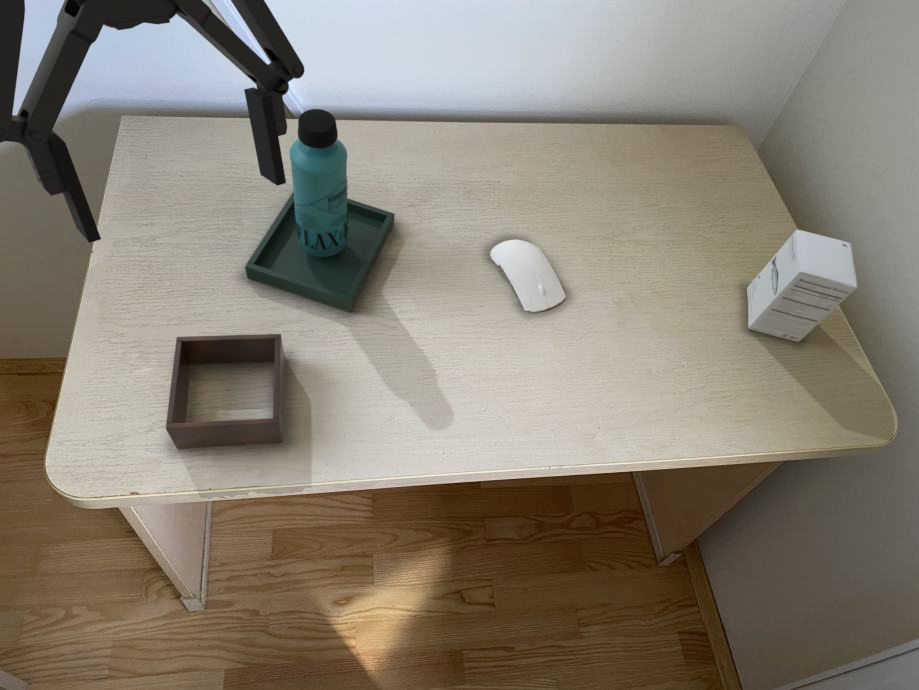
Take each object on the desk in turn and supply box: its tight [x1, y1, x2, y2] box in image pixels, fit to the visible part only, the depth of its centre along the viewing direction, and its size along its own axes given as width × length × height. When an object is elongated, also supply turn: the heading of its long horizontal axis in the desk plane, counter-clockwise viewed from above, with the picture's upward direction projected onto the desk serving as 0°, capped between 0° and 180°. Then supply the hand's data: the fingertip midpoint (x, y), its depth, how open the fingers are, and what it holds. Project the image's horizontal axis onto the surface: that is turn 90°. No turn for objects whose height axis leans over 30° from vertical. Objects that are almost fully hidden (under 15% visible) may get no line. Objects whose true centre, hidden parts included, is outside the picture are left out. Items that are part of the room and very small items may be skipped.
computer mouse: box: [489, 239, 567, 313], centre depth 87 cm, size 7×12×2 cm, turn 28°
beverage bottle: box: [288, 108, 349, 257], centre depth 77 cm, size 6×7×20 cm
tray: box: [244, 190, 396, 313], centre depth 85 cm, size 16×14×2 cm
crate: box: [165, 333, 286, 450], centre depth 71 cm, size 11×11×5 cm
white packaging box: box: [746, 229, 858, 343], centre depth 85 cm, size 7×7×13 cm
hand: (187, 204), depth 48 cm, fingers open, 13 cm apart
